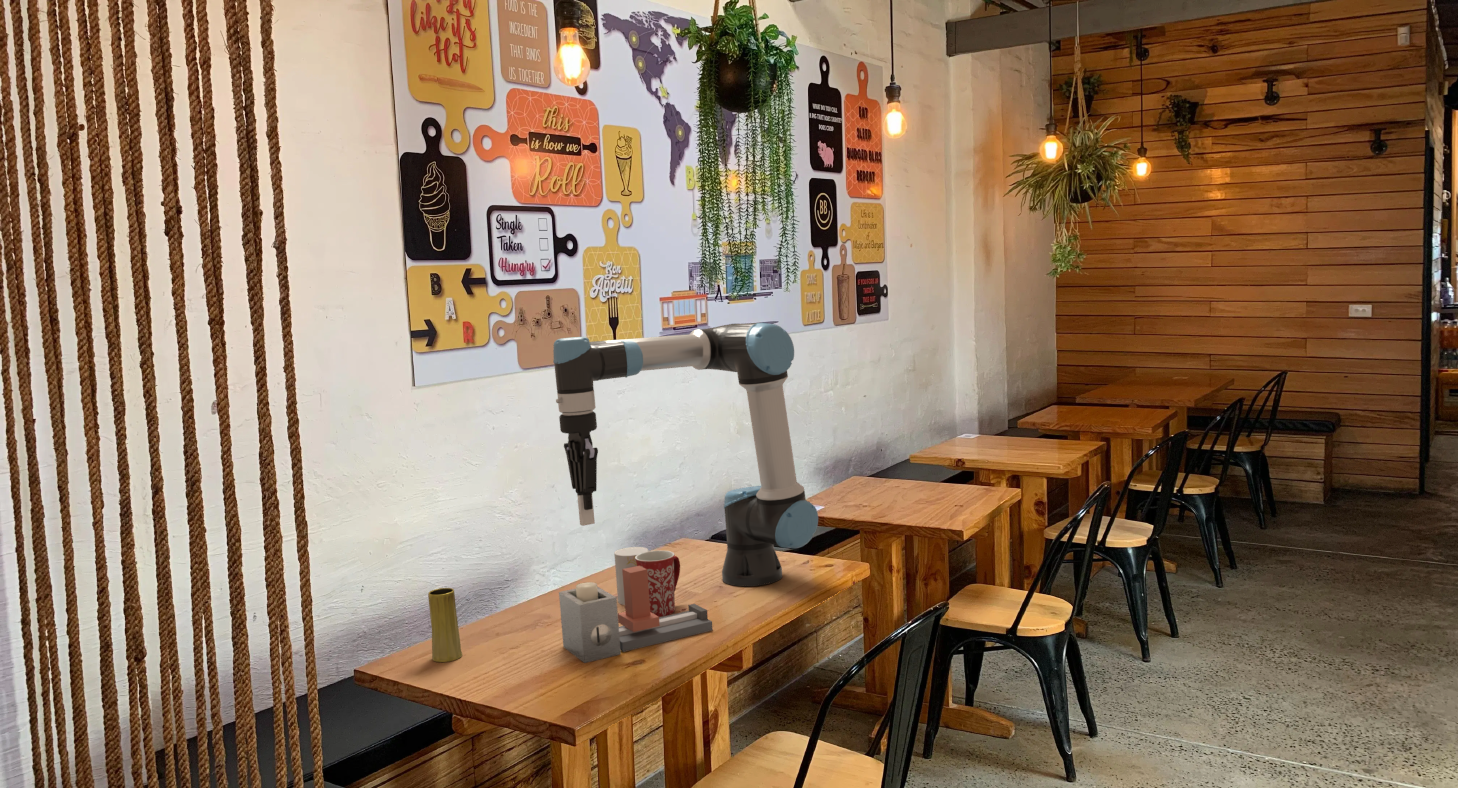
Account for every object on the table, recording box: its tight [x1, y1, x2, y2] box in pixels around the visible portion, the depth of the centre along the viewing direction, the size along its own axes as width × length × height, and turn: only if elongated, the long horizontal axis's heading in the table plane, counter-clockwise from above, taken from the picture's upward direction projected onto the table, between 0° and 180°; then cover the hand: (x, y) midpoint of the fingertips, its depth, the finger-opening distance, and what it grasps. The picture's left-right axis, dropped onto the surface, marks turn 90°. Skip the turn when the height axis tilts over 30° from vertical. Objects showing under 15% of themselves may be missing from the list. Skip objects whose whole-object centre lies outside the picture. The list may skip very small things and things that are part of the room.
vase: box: [427, 587, 463, 663], centre depth 223 cm, size 6×6×14 cm
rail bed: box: [619, 603, 713, 653], centre depth 230 cm, size 21×10×4 cm, turn 119°
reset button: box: [575, 581, 598, 602], centre depth 221 cm, size 4×4×5 cm
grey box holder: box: [558, 586, 622, 664], centre depth 222 cm, size 8×13×12 cm, turn 29°
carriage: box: [618, 566, 660, 632], centre depth 227 cm, size 6×8×12 cm
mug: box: [635, 549, 681, 617], centre depth 246 cm, size 13×9×14 cm
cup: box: [614, 546, 649, 606], centre depth 256 cm, size 8×8×12 cm
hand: (587, 523), depth 223 cm, fingers closed
